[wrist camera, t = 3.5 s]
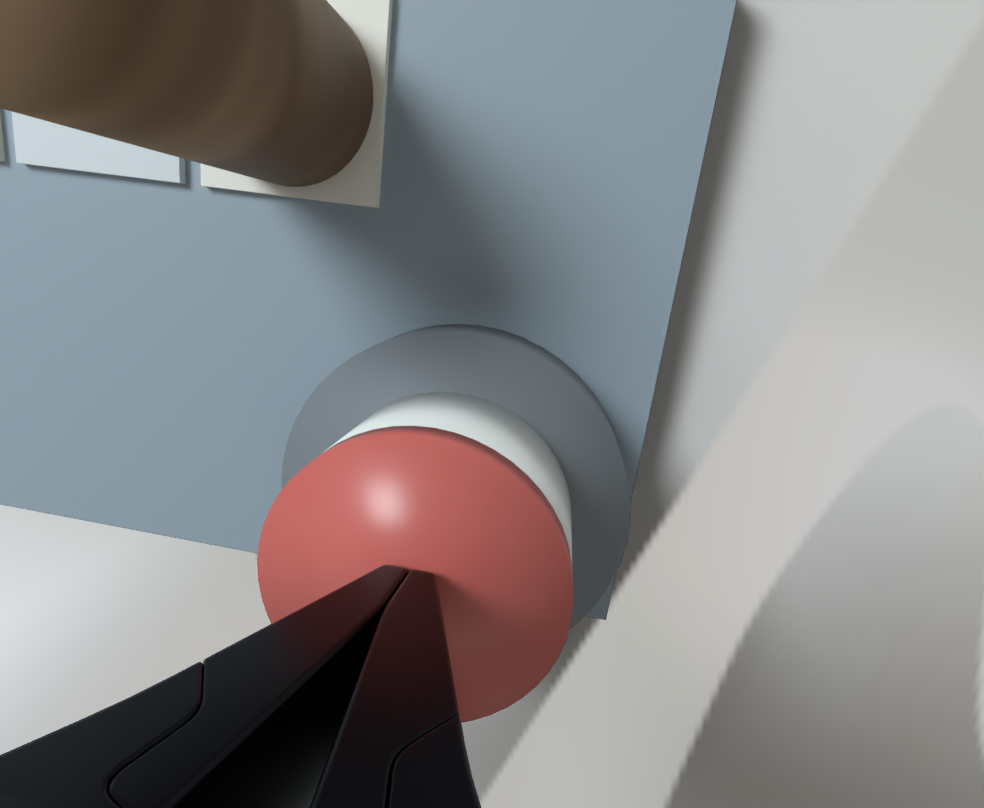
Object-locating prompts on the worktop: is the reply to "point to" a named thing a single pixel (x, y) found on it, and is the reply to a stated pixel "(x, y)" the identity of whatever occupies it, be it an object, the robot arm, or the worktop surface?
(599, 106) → the board
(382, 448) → the dome
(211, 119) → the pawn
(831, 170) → the worktop surface
